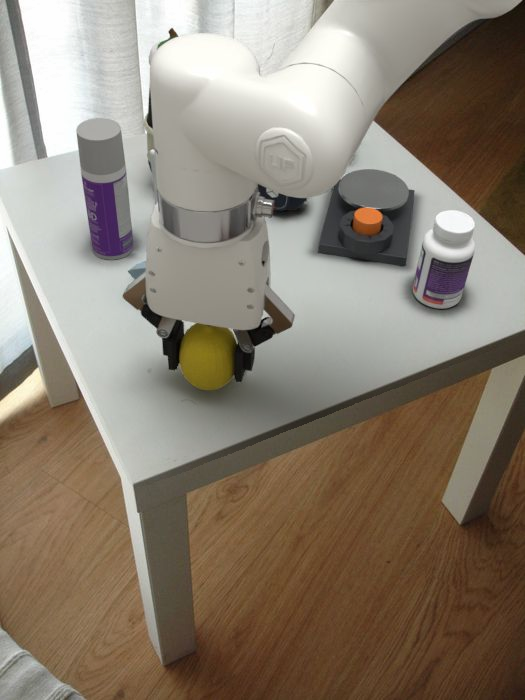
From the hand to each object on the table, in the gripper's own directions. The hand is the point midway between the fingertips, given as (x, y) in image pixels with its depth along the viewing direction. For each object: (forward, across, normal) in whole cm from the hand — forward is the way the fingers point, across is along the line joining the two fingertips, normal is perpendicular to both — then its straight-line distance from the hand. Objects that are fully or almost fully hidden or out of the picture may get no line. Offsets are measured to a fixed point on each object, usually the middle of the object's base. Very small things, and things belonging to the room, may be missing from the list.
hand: (208, 364), depth 73 cm
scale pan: (0, -12, -33) cm, 35 cm away
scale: (+3, -12, -30) cm, 32 cm away
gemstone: (+3, +8, -12) cm, 15 cm away
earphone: (+3, -3, -38) cm, 38 cm away
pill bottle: (+3, -21, -19) cm, 28 cm away
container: (+3, +16, -18) cm, 24 cm away
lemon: (+3, 0, 0) cm, 3 cm away
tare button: (0, -12, -26) cm, 28 cm away
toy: (+3, +12, -32) cm, 34 cm away
